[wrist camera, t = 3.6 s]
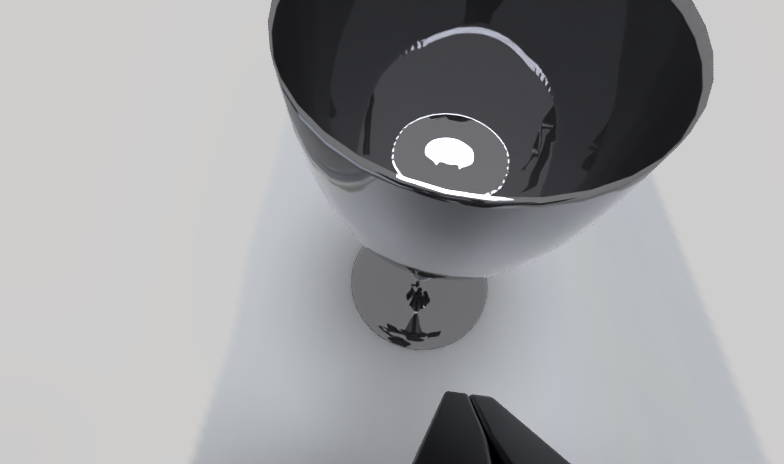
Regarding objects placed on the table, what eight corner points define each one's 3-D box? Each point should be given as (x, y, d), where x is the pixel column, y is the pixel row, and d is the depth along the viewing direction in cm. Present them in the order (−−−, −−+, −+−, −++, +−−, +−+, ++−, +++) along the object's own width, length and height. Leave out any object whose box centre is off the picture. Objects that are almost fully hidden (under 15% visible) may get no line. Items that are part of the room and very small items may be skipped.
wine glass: (525, 315, 20) (821, 91, 6) (382, 388, 18) (382, 291, 5) (448, 193, 23) (540, -132, 10) (320, 246, 21) (214, -55, 8)
